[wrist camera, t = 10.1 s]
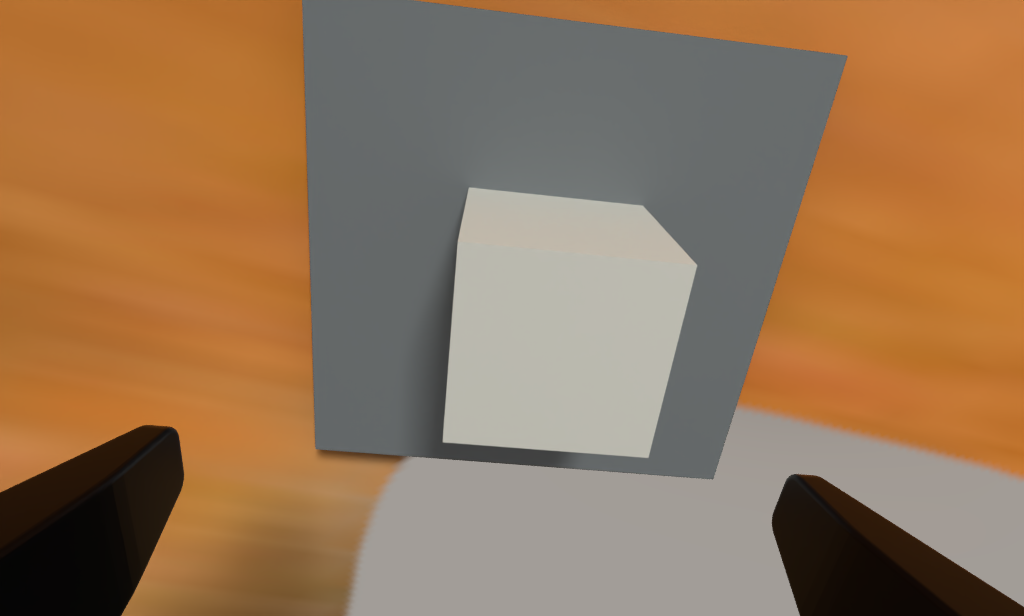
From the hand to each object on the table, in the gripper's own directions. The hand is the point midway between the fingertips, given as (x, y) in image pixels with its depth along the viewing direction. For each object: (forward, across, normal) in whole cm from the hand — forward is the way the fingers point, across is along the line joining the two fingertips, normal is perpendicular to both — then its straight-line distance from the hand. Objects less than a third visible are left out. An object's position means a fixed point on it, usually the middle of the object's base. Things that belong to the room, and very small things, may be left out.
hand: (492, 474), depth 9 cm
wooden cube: (+10, -2, 0) cm, 10 cm away
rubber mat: (+11, -2, 0) cm, 11 cm away
